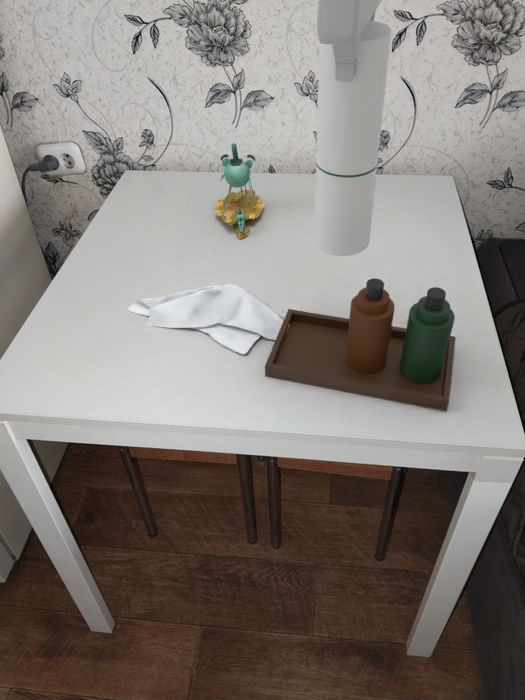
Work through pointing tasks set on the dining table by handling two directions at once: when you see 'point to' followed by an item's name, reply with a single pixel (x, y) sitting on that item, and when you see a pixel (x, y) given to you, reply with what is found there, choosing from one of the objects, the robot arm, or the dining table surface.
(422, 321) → the green bottle
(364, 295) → the brown bottle
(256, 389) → the dining table surface
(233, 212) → the frog figurine
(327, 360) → the tray
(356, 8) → the robot arm
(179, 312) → the cloth
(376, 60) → the cylindrical container
